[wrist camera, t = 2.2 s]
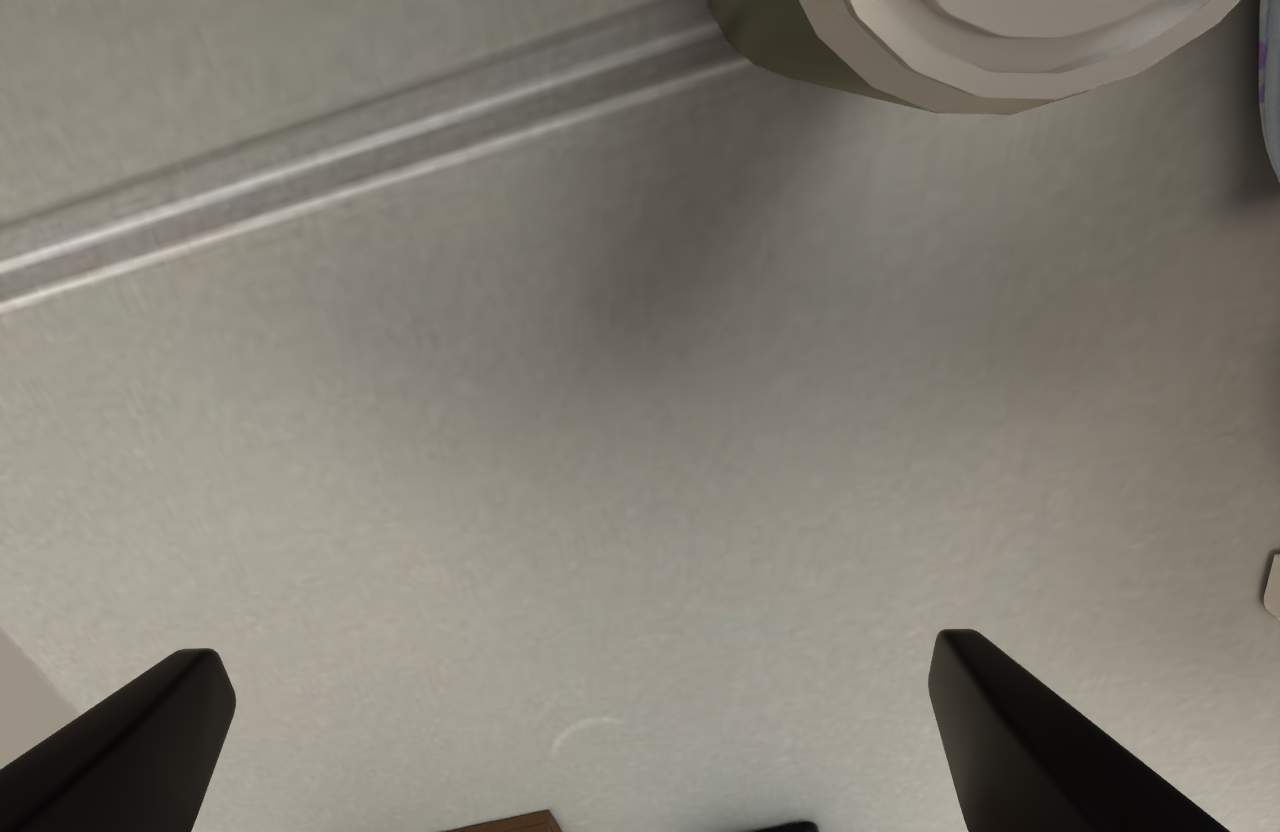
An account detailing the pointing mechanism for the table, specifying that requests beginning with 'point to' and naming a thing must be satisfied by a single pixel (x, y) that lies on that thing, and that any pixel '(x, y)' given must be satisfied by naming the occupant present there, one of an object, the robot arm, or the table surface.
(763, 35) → the beer can
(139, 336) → the table surface
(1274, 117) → the pencil case
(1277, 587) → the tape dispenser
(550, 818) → the tray
